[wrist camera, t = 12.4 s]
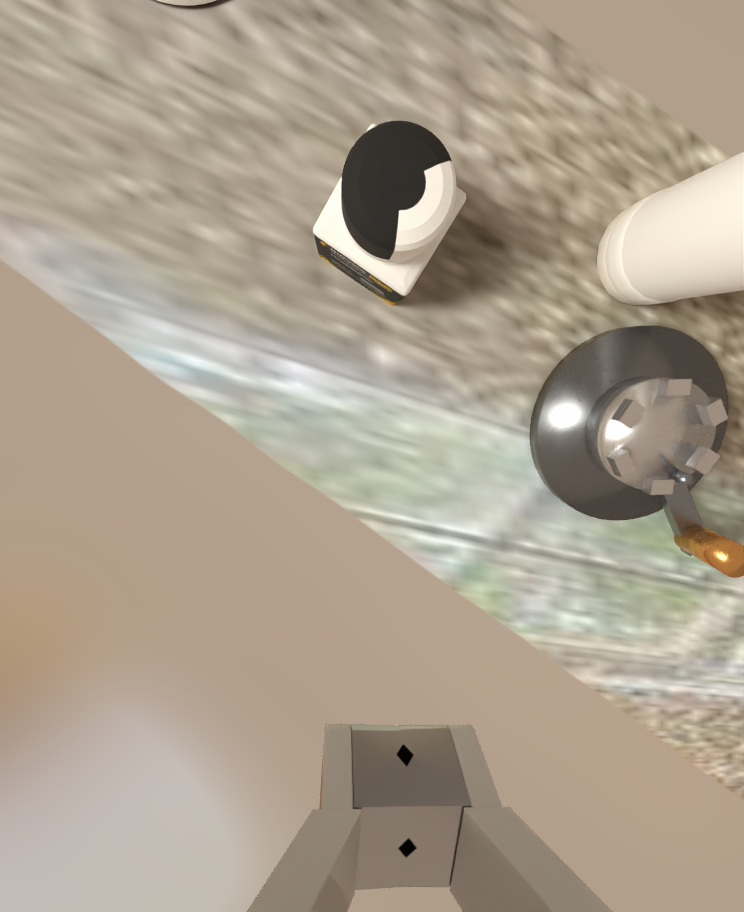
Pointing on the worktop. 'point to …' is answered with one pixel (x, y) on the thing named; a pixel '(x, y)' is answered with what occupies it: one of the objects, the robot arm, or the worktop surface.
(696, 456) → the crank handle dial
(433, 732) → the robot arm
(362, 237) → the medicine bottle
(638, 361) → the flange
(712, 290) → the bottle
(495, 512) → the worktop surface
